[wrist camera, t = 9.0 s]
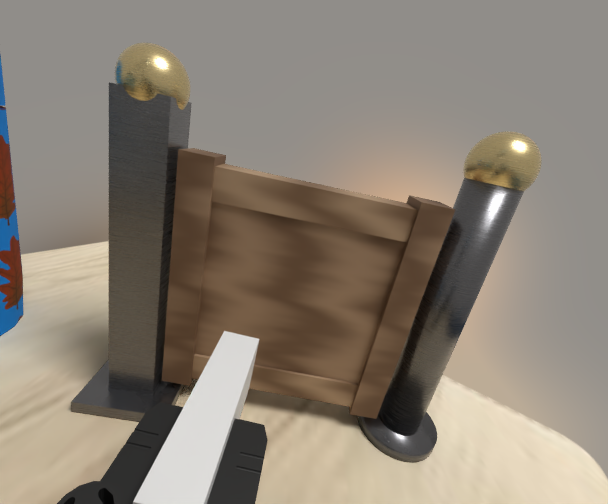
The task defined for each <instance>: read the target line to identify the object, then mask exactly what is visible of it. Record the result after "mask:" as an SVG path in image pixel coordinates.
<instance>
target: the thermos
mask: <svg viewBox="0 0 608 504" xmlns="http://www.w3.org/2000/svg"><path fill="white" fill-rule="evenodd" d="M0 105H5V96H4V87H3V77H2V66H1V56H0ZM19 245H20V244H19V234H18V225H17V215H16V205H15V196H14V185H13V175H12V165H11V155H10V145H9V136H8V126H7V117H6V108H5V107H2V106H0V336H1V335H2V334H4V333H5V332H7V331H8V330H10V329H11V328H13V327H14V326H15V325H16V324H17V322H18V321H19V320H20V318H21V317H22V316H23V276H22V264H21V254H20V246H19Z"/></svg>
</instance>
